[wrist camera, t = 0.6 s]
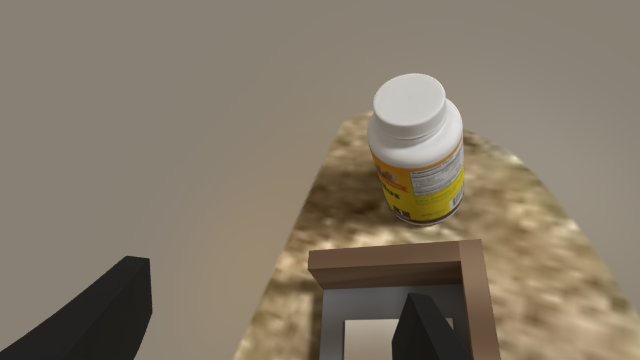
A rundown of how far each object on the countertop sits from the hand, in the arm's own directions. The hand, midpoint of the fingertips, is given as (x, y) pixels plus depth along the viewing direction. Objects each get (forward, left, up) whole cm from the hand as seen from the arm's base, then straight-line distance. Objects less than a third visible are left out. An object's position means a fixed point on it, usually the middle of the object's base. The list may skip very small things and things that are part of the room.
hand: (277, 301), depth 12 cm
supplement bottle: (+13, -4, -17) cm, 21 cm away
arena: (+2, -2, -16) cm, 17 cm away
